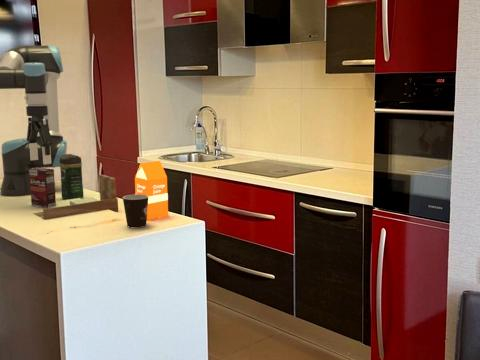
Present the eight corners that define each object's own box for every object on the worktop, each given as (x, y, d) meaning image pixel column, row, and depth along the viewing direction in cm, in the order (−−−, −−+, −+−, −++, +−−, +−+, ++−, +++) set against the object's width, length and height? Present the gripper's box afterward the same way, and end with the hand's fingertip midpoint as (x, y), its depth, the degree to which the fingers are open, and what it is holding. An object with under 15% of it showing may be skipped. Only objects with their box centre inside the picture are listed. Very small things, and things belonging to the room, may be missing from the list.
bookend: (69, 200, 222) (92, 197, 227) (70, 208, 223) (92, 205, 228) (78, 204, 216) (101, 201, 221) (78, 212, 216) (101, 209, 222)
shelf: (32, 217, 216) (30, 183, 214) (104, 205, 233) (102, 174, 231) (45, 223, 207) (42, 188, 205) (118, 211, 224) (116, 178, 222)
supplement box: (31, 210, 228) (28, 169, 225) (40, 207, 232) (37, 167, 229) (47, 212, 224) (44, 170, 221) (57, 209, 228) (54, 168, 225)
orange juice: (136, 216, 216) (133, 162, 212) (155, 212, 222) (153, 159, 218) (148, 220, 210) (146, 164, 207) (168, 216, 216) (167, 161, 213)
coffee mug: (138, 221, 210) (136, 193, 208) (154, 224, 204) (153, 196, 203) (111, 227, 201) (110, 198, 199) (128, 232, 196) (127, 202, 194)
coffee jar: (86, 199, 246) (84, 154, 242) (67, 202, 241) (65, 156, 238) (77, 195, 253) (74, 152, 250) (59, 198, 249) (56, 154, 245)
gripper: (15, 104, 228) (19, 159, 232) (38, 106, 209) (42, 166, 212) (34, 103, 232) (38, 157, 236) (59, 105, 213) (63, 164, 217)
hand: (40, 162), depth 224 cm, fingers open, 13 cm apart
